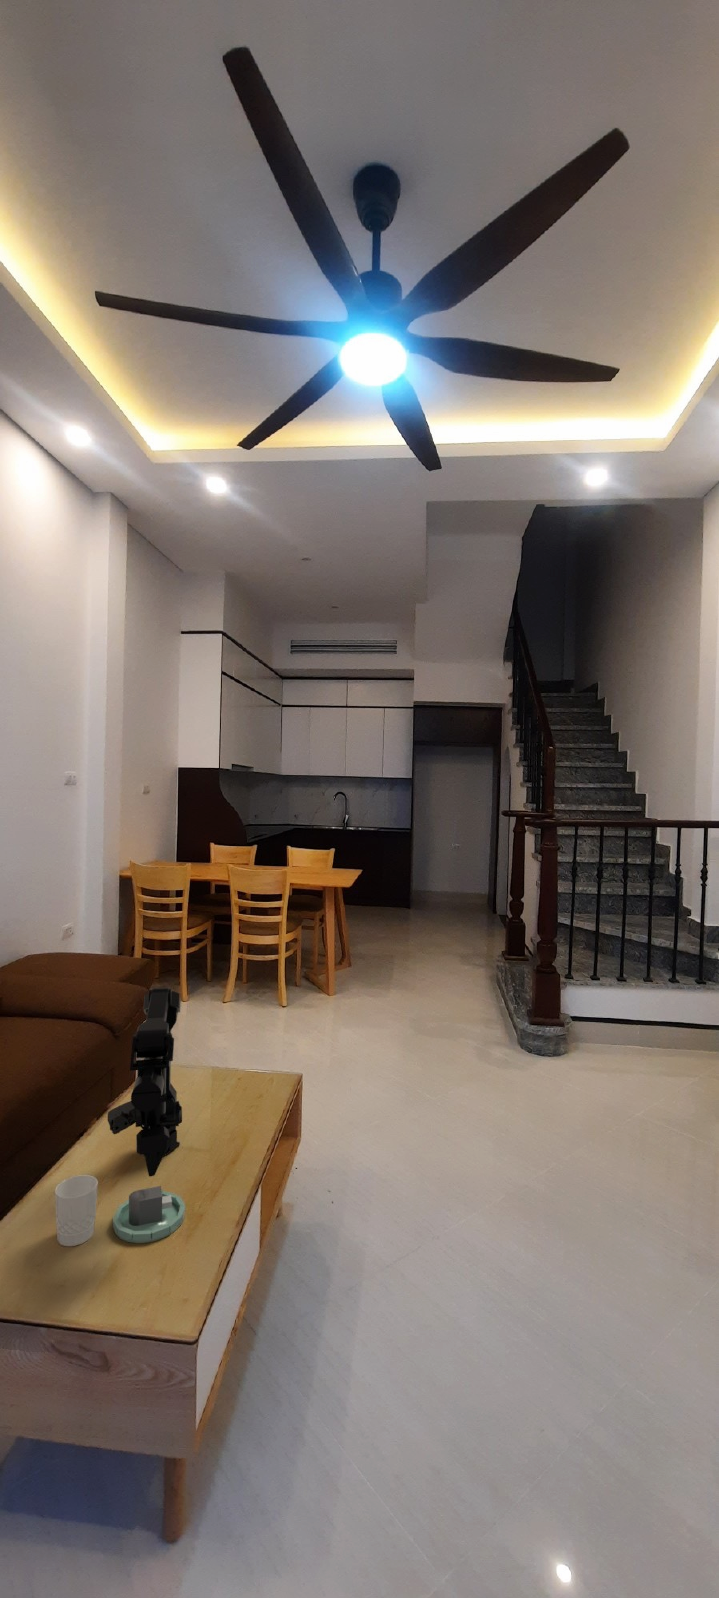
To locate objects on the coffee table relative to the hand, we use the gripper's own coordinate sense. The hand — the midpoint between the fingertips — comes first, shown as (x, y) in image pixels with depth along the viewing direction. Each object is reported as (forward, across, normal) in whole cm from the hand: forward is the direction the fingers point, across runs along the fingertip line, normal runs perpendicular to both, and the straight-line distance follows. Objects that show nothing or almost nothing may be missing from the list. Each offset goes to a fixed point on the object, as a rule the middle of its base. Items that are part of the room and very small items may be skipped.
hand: (150, 1164), depth 136 cm
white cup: (+12, 0, -14) cm, 19 cm away
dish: (+12, 0, 0) cm, 12 cm away
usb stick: (+11, 0, 0) cm, 11 cm away
